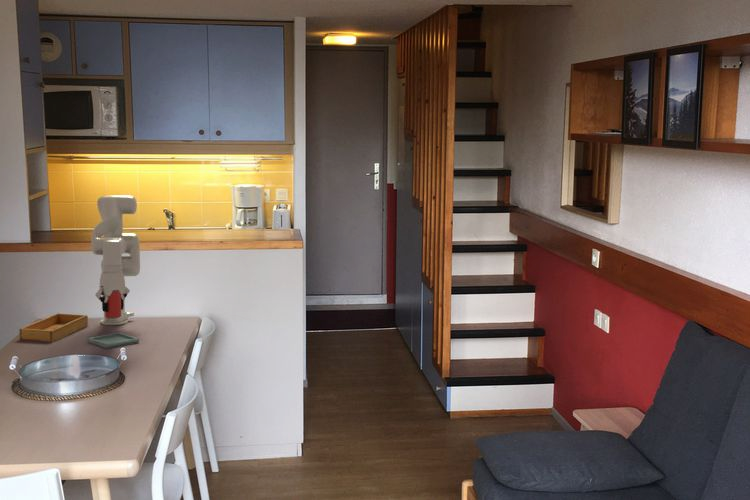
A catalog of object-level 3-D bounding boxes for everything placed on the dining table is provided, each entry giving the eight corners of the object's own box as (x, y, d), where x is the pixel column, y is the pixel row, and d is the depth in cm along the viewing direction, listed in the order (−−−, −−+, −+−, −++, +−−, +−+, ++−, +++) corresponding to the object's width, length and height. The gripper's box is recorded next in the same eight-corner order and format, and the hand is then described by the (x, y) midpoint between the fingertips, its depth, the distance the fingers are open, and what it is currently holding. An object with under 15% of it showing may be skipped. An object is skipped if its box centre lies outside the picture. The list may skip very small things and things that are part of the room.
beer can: (123, 315, 353) (123, 288, 352) (117, 319, 347) (117, 291, 345) (109, 315, 354) (108, 287, 352) (102, 318, 347) (102, 290, 346)
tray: (52, 343, 350) (52, 330, 349) (19, 340, 352) (19, 327, 351) (88, 327, 380) (87, 315, 379) (57, 325, 382) (57, 313, 381)
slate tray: (119, 336, 362) (119, 332, 362) (138, 342, 353) (138, 338, 353) (88, 342, 351) (88, 338, 351) (107, 348, 341) (107, 344, 341)
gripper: (125, 266, 357) (125, 306, 359) (89, 270, 343) (89, 311, 346) (135, 268, 352) (135, 308, 354) (98, 272, 339) (99, 314, 341)
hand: (113, 310), depth 350 cm, fingers closed on beer can, 6 cm apart
